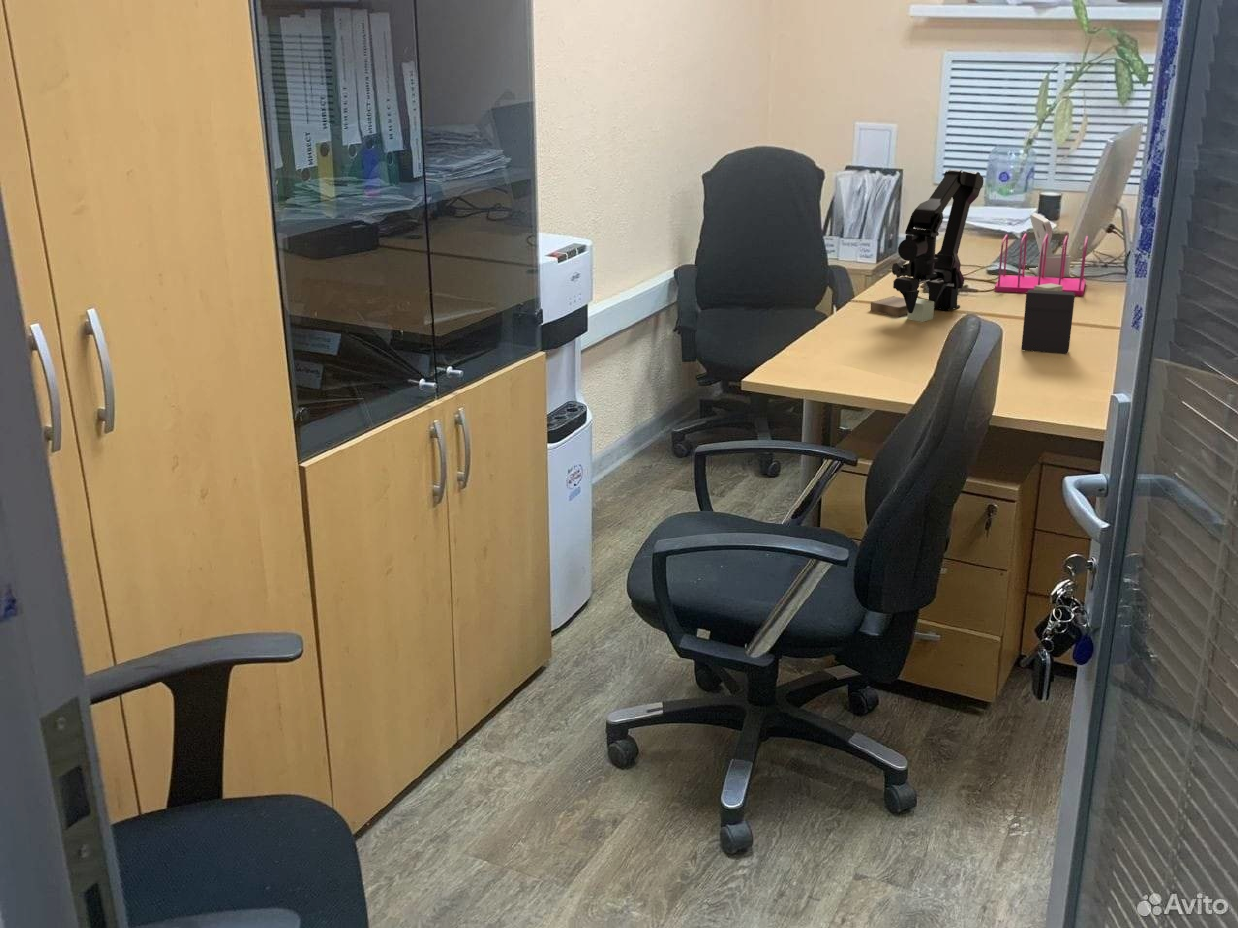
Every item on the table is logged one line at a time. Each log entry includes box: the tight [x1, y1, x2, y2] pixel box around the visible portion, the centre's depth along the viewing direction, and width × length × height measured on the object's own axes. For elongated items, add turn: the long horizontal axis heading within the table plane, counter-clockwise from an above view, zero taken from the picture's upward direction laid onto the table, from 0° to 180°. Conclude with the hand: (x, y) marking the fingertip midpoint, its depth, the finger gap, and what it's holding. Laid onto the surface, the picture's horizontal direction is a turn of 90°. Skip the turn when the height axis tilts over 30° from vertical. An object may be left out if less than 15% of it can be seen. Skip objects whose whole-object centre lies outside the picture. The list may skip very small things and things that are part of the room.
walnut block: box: [870, 296, 908, 317], centre depth 330 cm, size 10×10×3 cm
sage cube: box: [906, 298, 935, 323], centre depth 320 cm, size 5×5×5 cm
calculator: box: [1021, 290, 1076, 355], centre depth 284 cm, size 11×4×15 cm, turn 65°
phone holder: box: [1028, 212, 1072, 278], centre depth 368 cm, size 17×10×18 cm, turn 178°
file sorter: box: [993, 233, 1089, 297], centre depth 348 cm, size 17×25×16 cm
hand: (920, 310), depth 320 cm, fingers open, 9 cm apart
